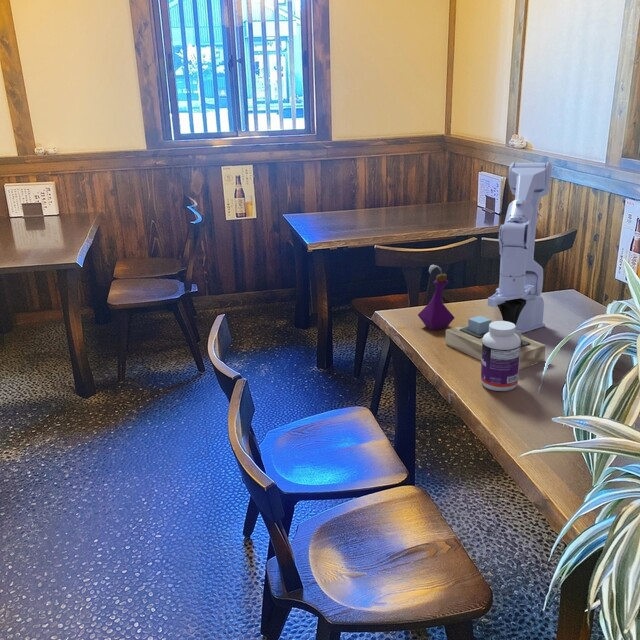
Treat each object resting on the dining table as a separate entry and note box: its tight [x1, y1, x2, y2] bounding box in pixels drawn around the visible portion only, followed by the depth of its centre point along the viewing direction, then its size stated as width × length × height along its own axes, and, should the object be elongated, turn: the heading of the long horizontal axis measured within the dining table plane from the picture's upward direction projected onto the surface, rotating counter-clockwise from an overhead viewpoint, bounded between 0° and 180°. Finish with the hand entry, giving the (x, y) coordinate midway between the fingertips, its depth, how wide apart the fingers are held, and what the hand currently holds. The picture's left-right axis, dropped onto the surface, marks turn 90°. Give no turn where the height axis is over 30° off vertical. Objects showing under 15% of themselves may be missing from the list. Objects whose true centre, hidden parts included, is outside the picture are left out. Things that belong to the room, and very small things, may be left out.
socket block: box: [445, 323, 547, 370], centre depth 155 cm, size 12×22×4 cm, turn 30°
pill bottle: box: [480, 320, 521, 392], centre depth 136 cm, size 8×8×14 cm
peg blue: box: [467, 315, 492, 335], centre depth 158 cm, size 4×4×4 cm
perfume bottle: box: [417, 264, 455, 331], centre depth 171 cm, size 8×8×18 cm
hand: (509, 328), depth 149 cm, fingers closed
